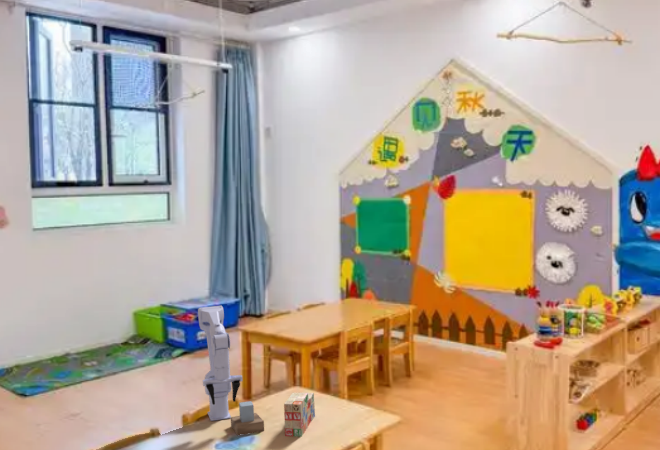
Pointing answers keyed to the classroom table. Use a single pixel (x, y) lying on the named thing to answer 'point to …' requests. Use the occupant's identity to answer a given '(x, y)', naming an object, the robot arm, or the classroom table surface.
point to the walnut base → (247, 425)
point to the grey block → (246, 411)
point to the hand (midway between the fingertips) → (223, 402)
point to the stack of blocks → (298, 413)
